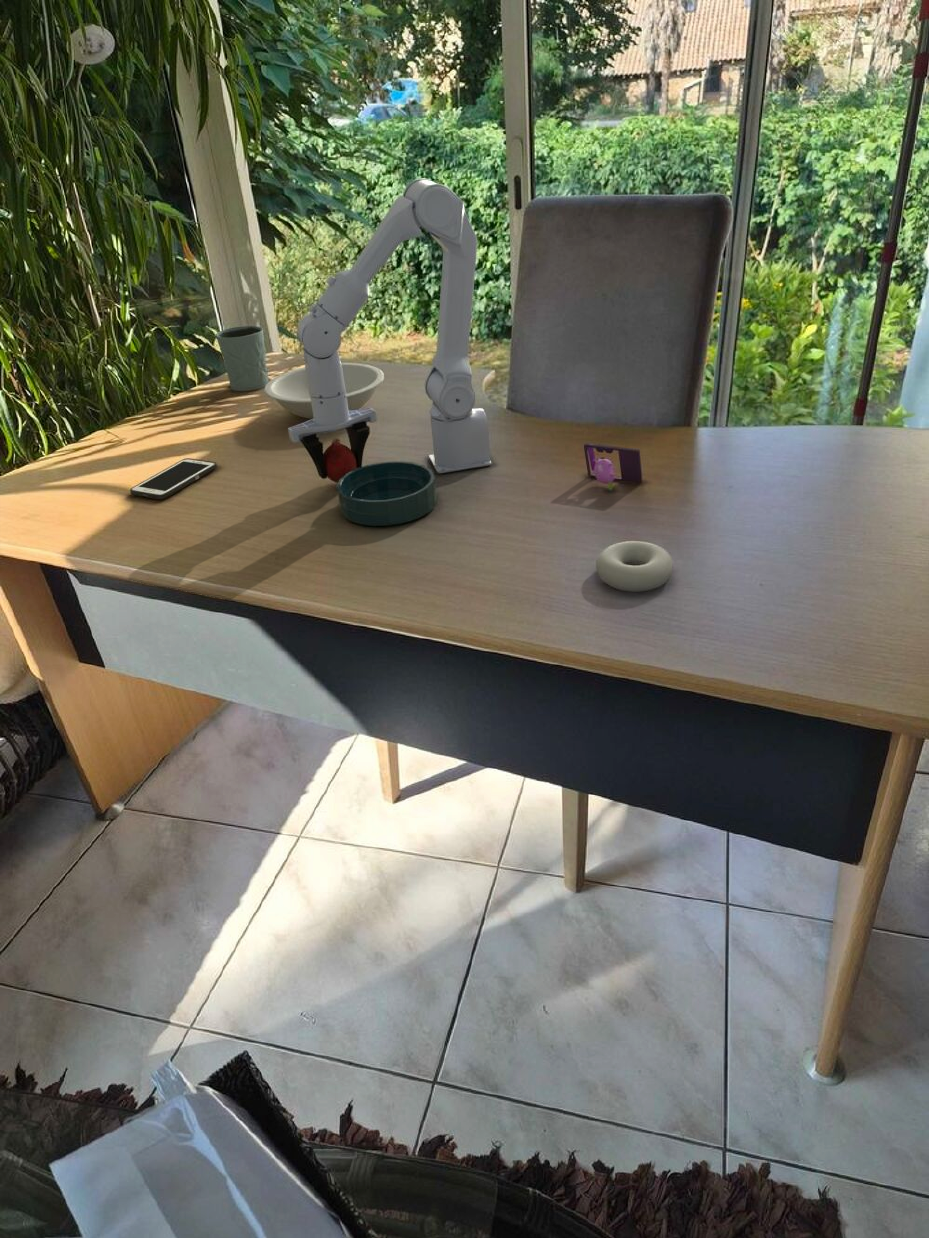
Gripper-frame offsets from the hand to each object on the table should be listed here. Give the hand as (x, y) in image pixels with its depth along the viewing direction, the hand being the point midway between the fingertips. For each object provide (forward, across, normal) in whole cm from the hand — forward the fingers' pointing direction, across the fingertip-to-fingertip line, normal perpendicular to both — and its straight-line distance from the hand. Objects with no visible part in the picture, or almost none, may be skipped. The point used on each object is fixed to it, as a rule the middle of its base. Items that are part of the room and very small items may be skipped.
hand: (340, 471), depth 146 cm
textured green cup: (+2, -4, -65) cm, 65 cm away
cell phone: (+2, +24, -20) cm, 31 cm away
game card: (+2, -35, +28) cm, 45 cm away
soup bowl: (+2, -12, -35) cm, 37 cm away
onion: (+2, 0, 0) cm, 2 cm away
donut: (+2, -20, +53) cm, 57 cm away
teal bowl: (+2, -3, +13) cm, 14 cm away
